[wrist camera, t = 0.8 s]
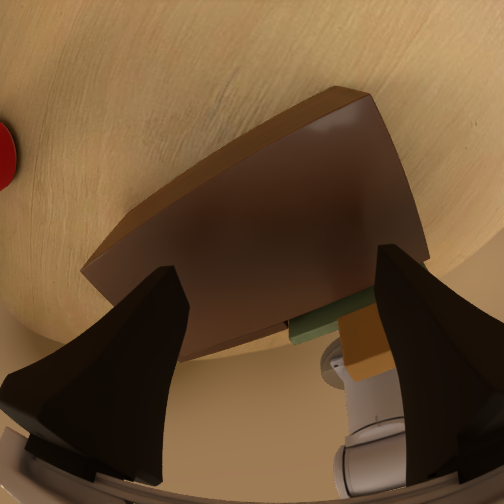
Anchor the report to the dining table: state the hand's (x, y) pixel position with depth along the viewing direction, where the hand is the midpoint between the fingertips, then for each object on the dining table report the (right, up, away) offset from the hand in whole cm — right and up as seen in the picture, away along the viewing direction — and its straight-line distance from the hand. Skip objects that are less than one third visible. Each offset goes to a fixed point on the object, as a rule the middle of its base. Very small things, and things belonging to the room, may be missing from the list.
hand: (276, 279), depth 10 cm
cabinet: (-1, +4, +8) cm, 9 cm away
